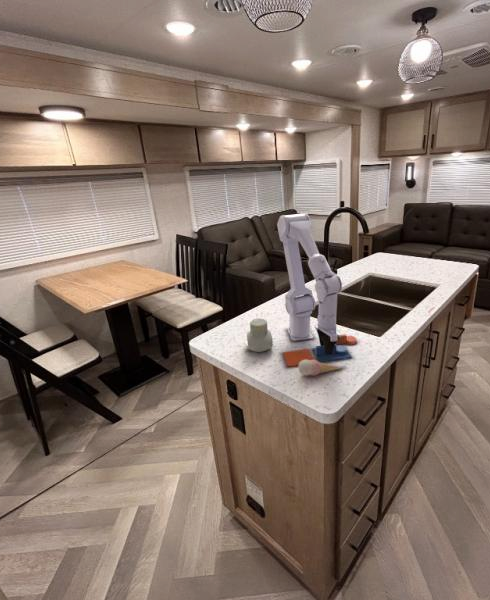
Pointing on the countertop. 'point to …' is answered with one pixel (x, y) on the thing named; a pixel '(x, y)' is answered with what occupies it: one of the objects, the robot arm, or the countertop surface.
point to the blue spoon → (337, 349)
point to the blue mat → (332, 356)
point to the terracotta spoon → (346, 339)
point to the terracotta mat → (297, 357)
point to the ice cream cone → (314, 367)
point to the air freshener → (259, 336)
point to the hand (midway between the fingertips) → (326, 349)
